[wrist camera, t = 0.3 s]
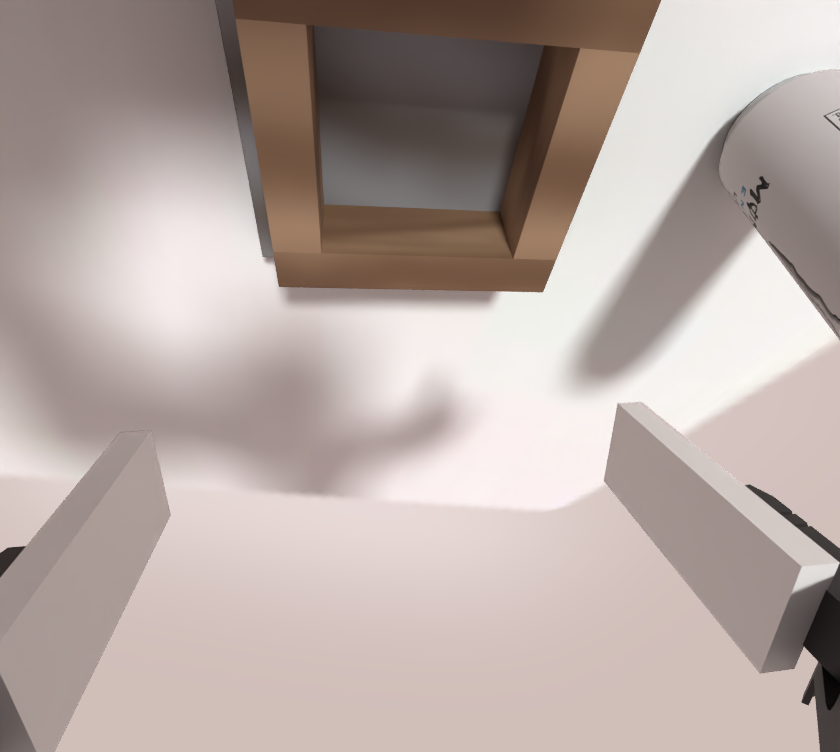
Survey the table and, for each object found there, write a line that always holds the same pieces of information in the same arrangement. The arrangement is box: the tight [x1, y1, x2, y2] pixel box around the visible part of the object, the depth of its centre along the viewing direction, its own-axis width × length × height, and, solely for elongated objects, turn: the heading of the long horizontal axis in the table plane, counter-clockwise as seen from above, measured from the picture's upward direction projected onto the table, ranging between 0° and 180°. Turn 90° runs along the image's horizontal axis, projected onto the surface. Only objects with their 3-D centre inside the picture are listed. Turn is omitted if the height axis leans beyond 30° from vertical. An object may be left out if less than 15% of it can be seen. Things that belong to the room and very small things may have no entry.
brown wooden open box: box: [215, 0, 661, 292], centre depth 20 cm, size 15×15×5 cm
